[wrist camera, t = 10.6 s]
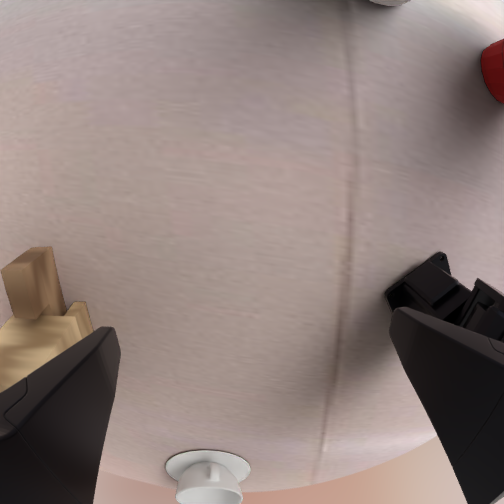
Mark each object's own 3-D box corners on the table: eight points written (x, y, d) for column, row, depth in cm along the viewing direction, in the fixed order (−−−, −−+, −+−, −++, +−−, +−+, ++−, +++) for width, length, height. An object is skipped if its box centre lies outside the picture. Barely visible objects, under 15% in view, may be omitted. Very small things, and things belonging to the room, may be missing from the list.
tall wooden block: (85, 301, 21) (28, 390, 12) (94, 334, 22) (49, 427, 13) (26, 300, 20) (-38, 374, 11) (36, 331, 22) (-17, 409, 12)
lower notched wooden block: (31, 247, 19) (0, 270, 15) (51, 246, 19) (21, 270, 15) (69, 373, 23) (53, 405, 19) (88, 374, 23) (73, 409, 19)
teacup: (240, 487, 32) (243, 515, 28) (164, 480, 31) (162, 509, 26) (259, 449, 29) (264, 483, 25) (167, 441, 28) (164, 476, 23)
